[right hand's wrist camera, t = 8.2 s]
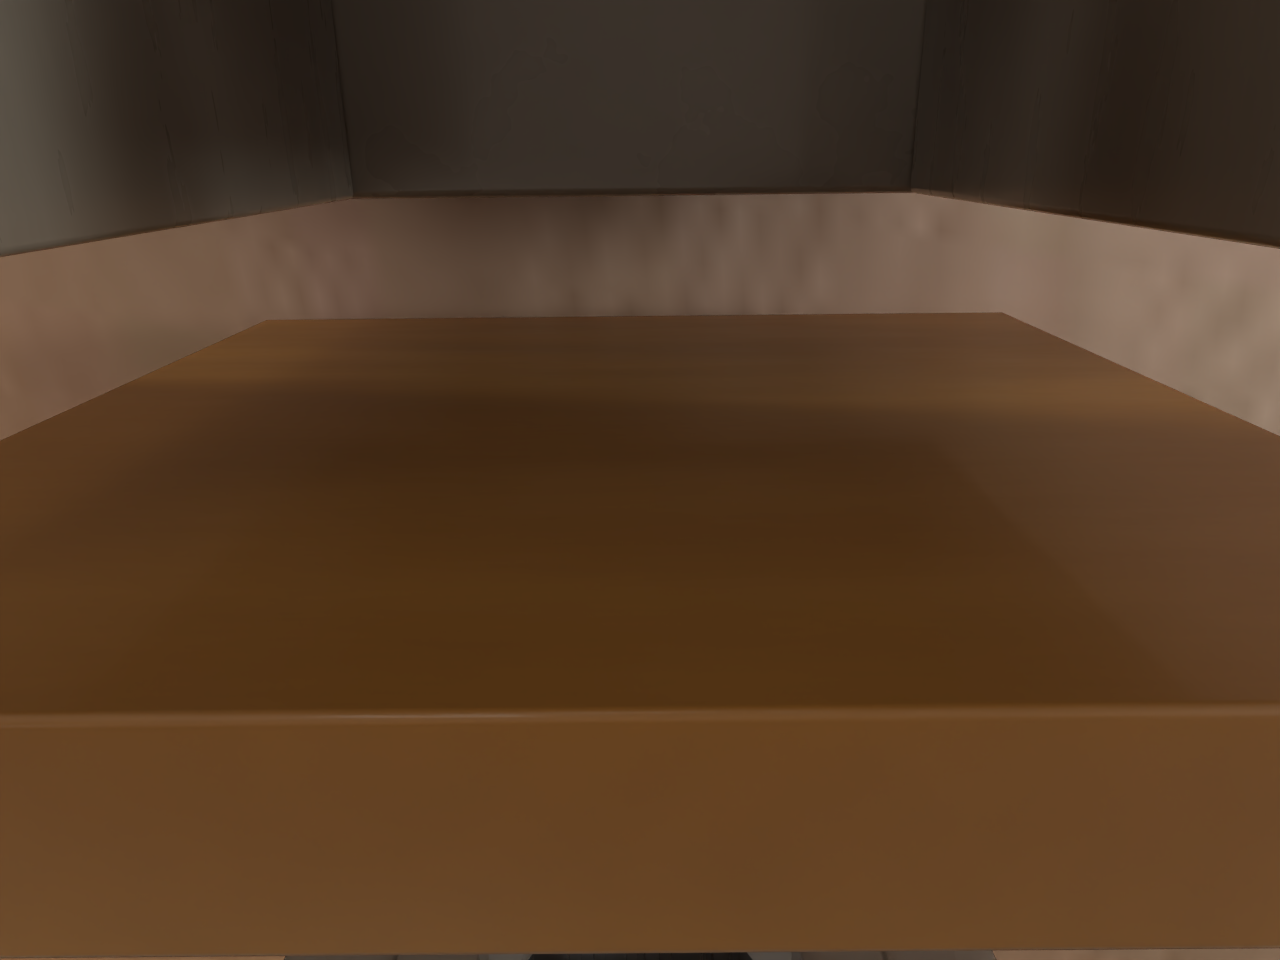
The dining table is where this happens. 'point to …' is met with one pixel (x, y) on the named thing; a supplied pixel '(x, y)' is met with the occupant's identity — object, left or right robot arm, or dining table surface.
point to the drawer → (638, 508)
